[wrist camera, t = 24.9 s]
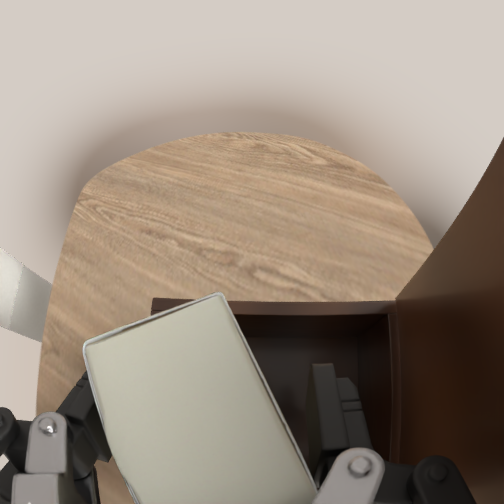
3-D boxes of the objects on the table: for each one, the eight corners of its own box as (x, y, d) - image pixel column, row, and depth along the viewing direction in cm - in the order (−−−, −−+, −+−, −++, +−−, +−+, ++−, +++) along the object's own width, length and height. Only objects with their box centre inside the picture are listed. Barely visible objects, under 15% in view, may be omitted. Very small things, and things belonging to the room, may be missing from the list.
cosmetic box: (295, 444, 16) (336, 516, 5) (228, 470, 15) (165, 563, 4) (252, 353, 18) (223, 280, 7) (187, 378, 18) (74, 340, 7)
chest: (176, 472, 19) (138, 498, 12) (186, 326, 25) (152, 297, 18) (361, 476, 18) (397, 504, 11) (363, 328, 24) (398, 300, 17)
